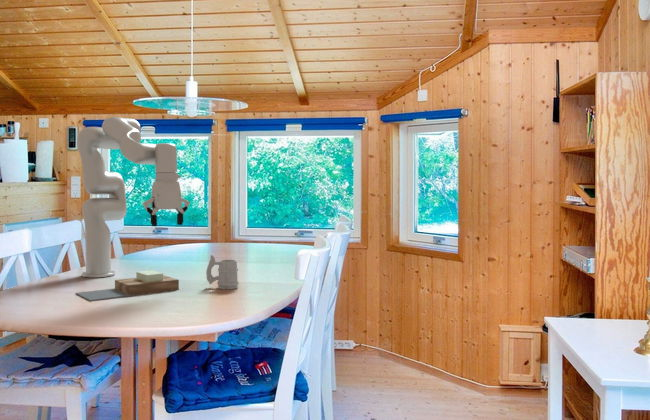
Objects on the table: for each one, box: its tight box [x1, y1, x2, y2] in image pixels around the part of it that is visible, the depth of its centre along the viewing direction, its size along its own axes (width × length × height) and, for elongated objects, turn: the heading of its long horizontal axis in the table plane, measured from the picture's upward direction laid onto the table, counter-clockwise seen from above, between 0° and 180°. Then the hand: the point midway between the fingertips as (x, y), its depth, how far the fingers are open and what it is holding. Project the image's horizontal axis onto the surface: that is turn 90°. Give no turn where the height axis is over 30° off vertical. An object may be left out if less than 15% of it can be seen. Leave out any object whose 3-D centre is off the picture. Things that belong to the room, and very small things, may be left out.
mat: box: [75, 287, 134, 302], centre depth 190 cm, size 15×14×1 cm
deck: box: [114, 274, 180, 296], centre depth 200 cm, size 13×18×4 cm
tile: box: [135, 269, 164, 282], centre depth 200 cm, size 9×6×2 cm, turn 41°
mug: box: [205, 254, 240, 290], centre depth 205 cm, size 8×12×12 cm, turn 91°
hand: (167, 225), depth 203 cm, fingers open, 9 cm apart
